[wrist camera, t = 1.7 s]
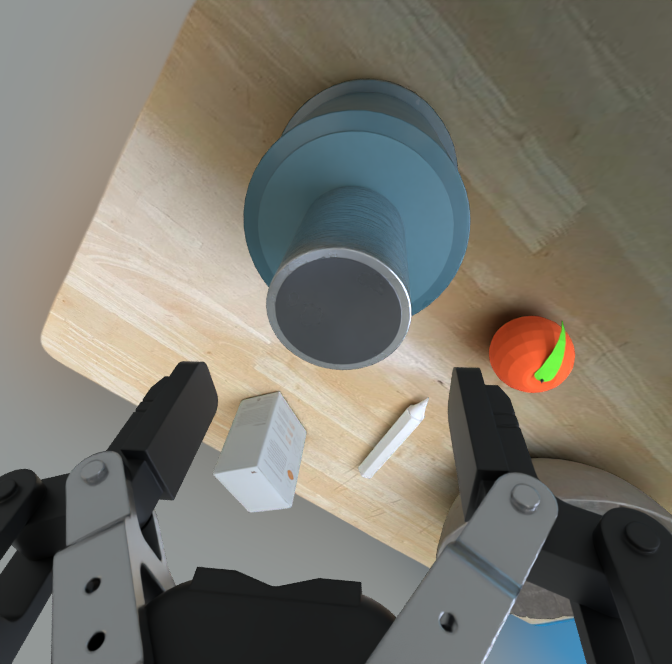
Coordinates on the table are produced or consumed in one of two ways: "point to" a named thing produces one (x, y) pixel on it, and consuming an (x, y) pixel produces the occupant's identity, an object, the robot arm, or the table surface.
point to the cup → (343, 282)
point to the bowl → (578, 490)
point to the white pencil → (393, 439)
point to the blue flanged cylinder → (365, 178)
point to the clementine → (532, 354)
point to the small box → (262, 454)
